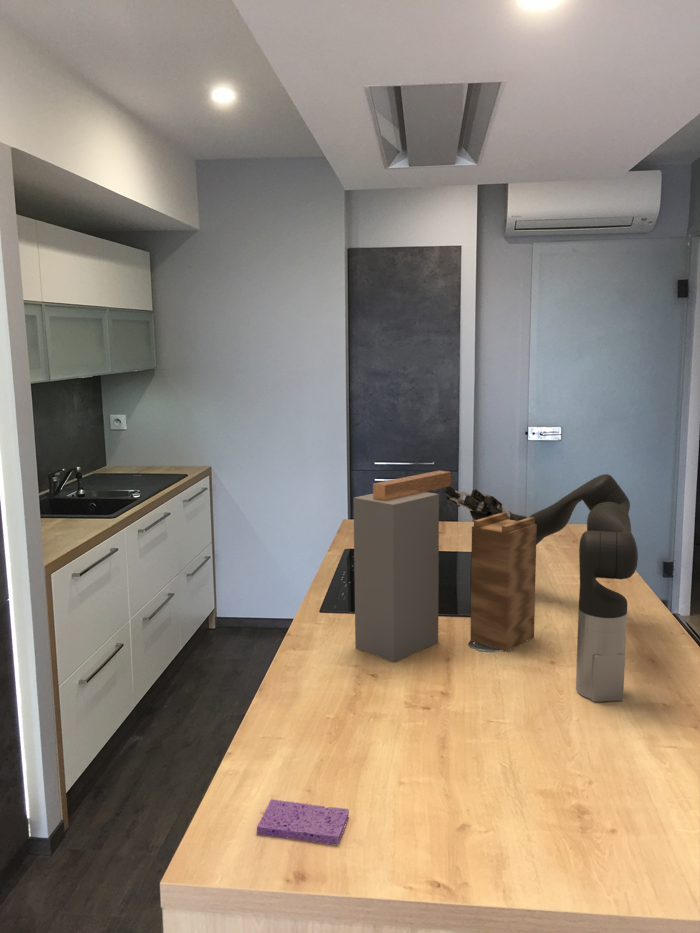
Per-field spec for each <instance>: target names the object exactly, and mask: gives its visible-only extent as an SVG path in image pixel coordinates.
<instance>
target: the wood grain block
mask: <svg viewBox="0 0 700 933" xmlns="http://www.w3.org/2000/svg"><path fill="white" fill-rule="evenodd" d="M536 536H537V524H535V518H533V517H529V516H528V517H527V518H526V519H522V520H519V521H515V520H509V519H507V513H499V514H496V515H492V516H489V517H485V518H482V519H478V520H473V526H471V557H470V558H471V560H470V561H471V562H470V563H471V567H470V568H471V571H470V572H471V573H470V574H471V575H470V576H471V577H470V642H473V641H474V643H476V642H477V644H479V643H481V644H480V645H482V644H485V645H484V646H486V645H488V646H487V647H489V646H492V647H495V648H498V649H501V650H500V651H502V650H503V651H502V652H505V651H507V652H509V651H511V650H513V649H515V648H517V647H518V645H519V646H520V644H521V645H522V644H524V643H526V642H528V641H530V640H532V639H533V637H534V638H535V613H536V610H535V609H536V608H535V606H536V575H537V574H536V573H537V572H536V571H537V570H536V569H537V568H536V567H537V545H536ZM531 638H532V639H531ZM529 639H530V640H529ZM527 640H528V641H527ZM525 641H526V642H525ZM516 646H517V647H516ZM492 647H491V648H492ZM514 647H515V648H514ZM495 648H494V649H495ZM498 649H497V650H498ZM510 649H511V650H510ZM508 650H509V651H508Z"/></svg>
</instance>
